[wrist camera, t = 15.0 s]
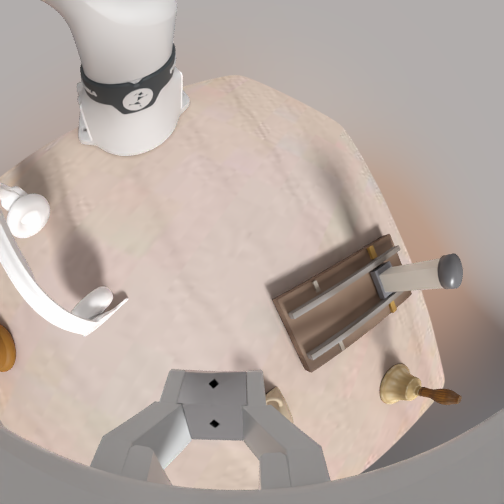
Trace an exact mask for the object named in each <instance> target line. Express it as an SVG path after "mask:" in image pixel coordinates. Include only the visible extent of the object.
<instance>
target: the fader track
mask: <svg viewBox="0 0 504 504" xmlns="http://www.w3.org/2000/svg"><path fill="white" fill-rule="evenodd" d="M399 250H400V248H399V245H398V246H394V243H393V241H392V239H391V236H390V234H388V235H384V236H382V237H380V238H378V239H377V240H375V241H374V242H372V243H370V244H369V245H367V246H365V247H364V248H362V249H361V250H359V251H357V252H356V253H354V254H352V255H351V256H349V257H347V258H346V259H344V260H342V261H340V262H339V263H337V264H335V265H334V266H332V267H330V268H328V269H327V270H325V271H323V272H321V273H320V274H318V275H316V276H314V277H313V278H311V279H309V280H307V281H306V282H304V283H302V284H300V285H298V286H297V287H295V288H293V289H291V290H289V291H287V292H286V293H284V294H282V295H280V296H278V297H276V298H275V299H273V302H274V304H275V307H276V309H277V311H278V313H279V315H280V317H281V319H282V321H283V324H284V326H285V328H286V330H287V332H288V334H289V336H290V338H291V341H292V343H293V345H294V347H295V349H296V351H297V353H298V355H299V358H300V360H301V362H302V364H303V366H304V368H305V370H307V371H309V372H313V371H314V370H316V369H317V368H319V367H320V366H322V365H323V364H325V363H326V362H328V361H329V360H331V359H332V358H333V357H335V356H336V355H338V354H339V353H340V352H342V351H343V350H345V349H346V348H347V347H349V346H350V345H351V344H353V343H354V342H355V341H357V340H358V339H359V338H360V337H362V336H363V335H364V334H366V333H367V332H368V331H369V330H371V329H372V328H373V327H374V326H376V325H377V324H378V323H379V322H380V321H382V320H383V319H384V318H385V317H386V316H388V315H389V314H390V313H394V312H395V311H396V310H397V307H398V306H399V305H400V304H401V303H403V302H404V301H405V300H406V299H407V298H408V297H409V296H410V295H411V294H412V293H411V291H398V292H393V293H391V294H390V295H389V296H388V297H387V298H385V299H380V297H379V294H378V292H377V289H376V286H375V284H374V281H373V279H372V276H371V273H370V272H371V271H373V270H374V269H376V268H377V267H379V266H380V265H381V264H383V263H384V262H387V261H390V263H391V265H392V267H395V266H401V265H402V264H401V262H400V259H399V256H398V254H397V252H398V251H399Z"/></svg>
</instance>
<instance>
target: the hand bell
mask: <svg viewBox="0 0 504 504" xmlns="http://www.w3.org/2000/svg"><path fill="white" fill-rule="evenodd" d="M417 396H423V397H428V398H431V399H433V400H434V401H436V402H437V403H440V404H444V405H450V404H458V403H460V401H461V399H462V397H461V396H460V395H458V394H457V393H455V392H454V391H452V390H448V389H435V390H433V389H429V388H425V387H421V381H420V379H419V378H417V377H414V376H412V375H411V374H410V372H409V369H408V368H407V366H405V365H404V364H397V365H394V366H393V367H391V368H390V369H389V370H388V371H387V373H386V374H385V376H384V378H383V380H382V382H381V386H380V397H381V399H382V401H383V402H384V403H386V404H393V403H396V402H397V401H399V400H407V401H411V400H414V399H415V398H416V397H417Z"/></svg>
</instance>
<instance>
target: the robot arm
mask: <svg viewBox="0 0 504 504" xmlns="http://www.w3.org/2000/svg"><path fill="white" fill-rule="evenodd" d="M41 1H43V2H45V3H47V4H48V5H50V6H51V7H53V8H54V9H55V10H56V11H58V13H60V15H61V16H62V17H63V18H64V19H65V21H66V22H67V24H68V25H69V27H70V29H71V32H72V35H73V37H74V40H75V43H76V46H77V49H78V53H79V56H80V59H81V67H80V72H81V81H82V82H80V83H78V84H77V92H78V95H79V96H78V104H79V105H80V106H79V107H80V118H79V134H78V137H79V140H80V142H81V143H82V144H87V145H95V146H98V147H100V148H101V149H103V150H104V151H106V152H108V153H111V154H114V155H120V156H130V155H137V154H141V153H144V152H147V151H150V150H152V149H154V148H155V147H157V146H159V145H160V144H162V143H163V142H164V141H165V140H166V139H167V138H168V137H169V136H170V135H171V134H172V132H173V131H174V129H175V127H176V125H177V122H178V119H179V116H180V115H181V113H183V112H184V111H185V110H186V109H187V107H188V106H189V104H190V99H189V97H188V96H187V94H186V93H185V92H184V91H183V90H182V87H183V85H182V84H183V75H182V72H180V71H179V70H178V69H177V68H176V67H175V63H176V53H175V46H174V43H173V38H174V30H175V21H176V14H177V1H176V0H41ZM86 129H87V130H86ZM85 130H86V131H85ZM246 380H247V382H246ZM191 439H206V440H244V442H245V443H246V445H247V446H248V447H249V448H250V450H251V451H252V452H253V453H254V455H255V456H256V457H257V458H258V460H259V461H260V463H259V490H216V489H200V488H189V487H180V486H173V485H172V484H171V482H170V480H169V479H168V477H167V475H166V473H165V472H164V469H165V468H166V467H167V466H168V465H169V464H170V463H171V462H172V461H173V460H174V459H175V458H176V456H177V455H178V454H179V453H180V452H181V451H182V450H183V449H184V448H185V447H186V446H187V445H188V444H189V443H190V442H191ZM0 504H504V408H503V409H502V410H500V411H499V412H497V413H496V414H494V415H493V416H491V417H490V418H488V419H487V420H485V421H483V422H482V423H480V424H478V425H477V426H475V427H474V428H472V429H470V430H468V431H466V432H465V433H463V434H461V435H459V436H457V437H455V438H454V439H452V440H450V441H448V442H446V443H444V444H441V445H440V446H437V447H435V448H433V449H431V450H428V451H426V452H424V453H421V454H419V455H417V456H414V457H412V458H409V459H406V460H404V461H401V462H399V463H395V464H393V465H390V466H386V467H383V468H380V469H377V470H374V471H370V472H367V473H363V474H359V475H355V476H351V477H347V478H343V479H338V480H333V481H330V477H329V473H328V470H327V466H326V462H325V458H324V455H323V451H322V447H321V446H320V445H319V444H317V443H316V442H315V441H314V440H312V439H311V438H310V437H309V436H307V435H306V434H305V433H304V432H302V431H301V430H300V429H299V428H298V427H296V426H295V425H294V424H293V423H292V422H290V421H289V420H288V419H287V418H286V417H285V416H283V415H282V414H281V413H280V412H279V411H278V410H277V409H276V408H274V407H273V406H272V405H266V396H265V387H264V378H263V371H262V370H251V371H247V372H246V371H197V370H179V369H171V370H170V371H169V374H168V377H167V380H166V383H165V386H164V389H163V392H162V395H161V398H160V401H159V402H154V403H152V404H151V405H149V406H148V407H146V408H145V409H144V410H142V411H141V412H139V413H138V414H136V415H135V416H133V417H132V418H130V419H129V420H127V421H126V422H124V423H123V424H121V425H120V426H118V427H117V428H115V429H114V430H112V431H110V432H109V433H107V434H106V435H104V436H103V437H102V440H101V442H100V444H99V446H98V449H97V451H96V453H95V456H94V458H93V461H92V463H91V465H90V466H87V465H84V464H81V463H79V462H76V461H73V460H71V459H68V458H65V457H63V456H60V455H58V454H56V453H53V452H51V451H49V450H47V449H45V448H42V447H40V446H38V445H36V444H34V443H32V442H30V441H28V440H26V439H24V438H22V437H21V436H19V435H17V434H15V433H13V432H12V431H10V430H8V429H7V428H5V427H3V426H1V425H0Z"/></svg>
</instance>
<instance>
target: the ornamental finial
mask: <svg viewBox="0 0 504 504" xmlns="http://www.w3.org/2000/svg"><path fill="white" fill-rule="evenodd" d="M15 359H16V349H15V344H14V341H13V339H12V337H11V335H10V333H9V332H8V330H7V329H6V328H5V327H4V326H2V325H1V324H0V372H6V371H8V370H10V369H11V368H12V367H13V365H14V363H15Z"/></svg>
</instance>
